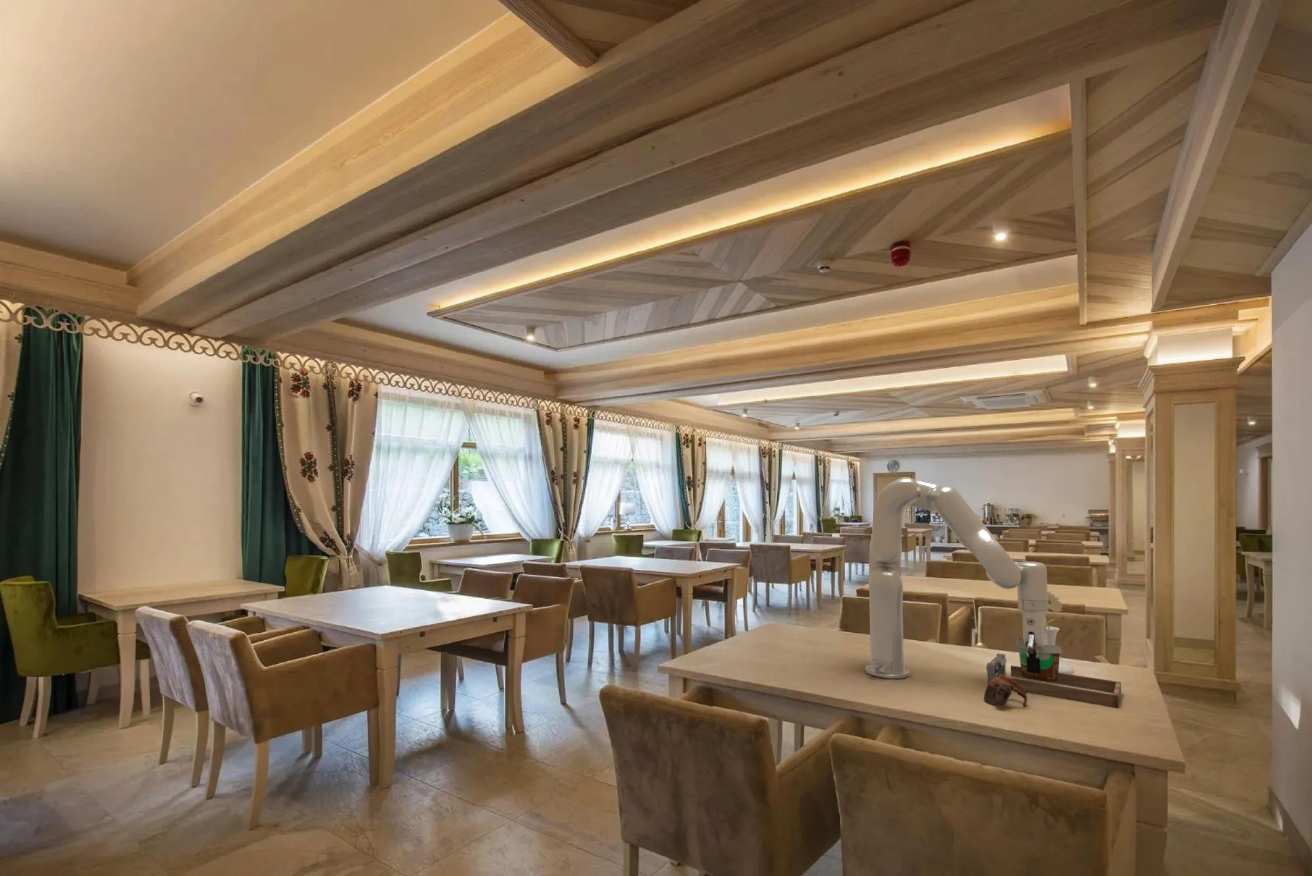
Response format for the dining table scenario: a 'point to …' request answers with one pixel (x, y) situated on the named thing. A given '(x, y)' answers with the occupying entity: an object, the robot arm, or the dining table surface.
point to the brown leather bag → (1003, 690)
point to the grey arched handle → (996, 667)
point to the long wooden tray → (1071, 692)
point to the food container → (1041, 662)
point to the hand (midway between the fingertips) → (1035, 669)
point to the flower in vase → (1052, 632)
